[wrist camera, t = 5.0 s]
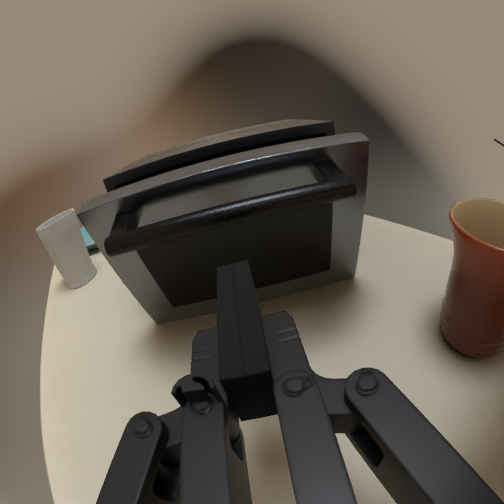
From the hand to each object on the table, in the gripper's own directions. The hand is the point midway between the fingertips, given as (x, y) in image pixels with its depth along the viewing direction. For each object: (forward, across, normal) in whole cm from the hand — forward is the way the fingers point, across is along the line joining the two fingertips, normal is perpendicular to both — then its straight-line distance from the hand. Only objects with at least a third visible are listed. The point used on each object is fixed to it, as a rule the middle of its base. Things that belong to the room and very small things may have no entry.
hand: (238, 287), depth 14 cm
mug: (0, +19, -10) cm, 22 cm away
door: (+11, 0, -10) cm, 15 cm away
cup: (+28, -30, -10) cm, 42 cm away
